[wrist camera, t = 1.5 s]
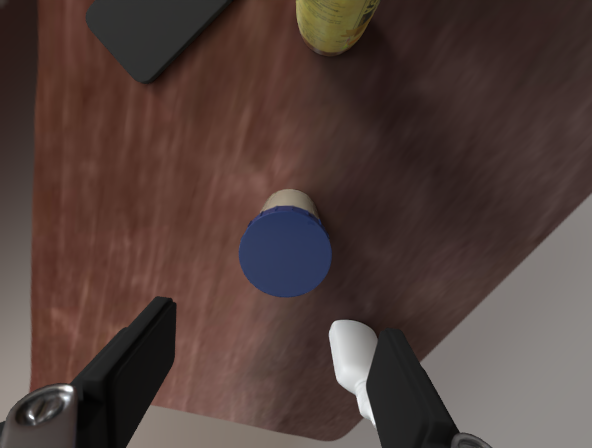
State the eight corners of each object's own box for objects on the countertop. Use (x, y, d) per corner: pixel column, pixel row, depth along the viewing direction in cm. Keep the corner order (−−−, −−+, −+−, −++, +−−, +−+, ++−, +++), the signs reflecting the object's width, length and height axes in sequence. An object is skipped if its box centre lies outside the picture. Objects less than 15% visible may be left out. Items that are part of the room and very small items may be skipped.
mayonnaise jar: (299, 178, 29) (300, 196, 19) (327, 225, 31) (342, 266, 20) (250, 207, 30) (226, 240, 20) (280, 252, 32) (272, 304, 21)
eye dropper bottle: (353, 354, 36) (380, 455, 24) (323, 328, 34) (336, 421, 23) (378, 334, 35) (419, 429, 23) (348, 306, 34) (375, 392, 22)
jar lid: (300, 187, 20) (301, 191, 18) (345, 260, 22) (349, 271, 20) (225, 232, 21) (219, 240, 19) (273, 299, 23) (271, 313, 21)
